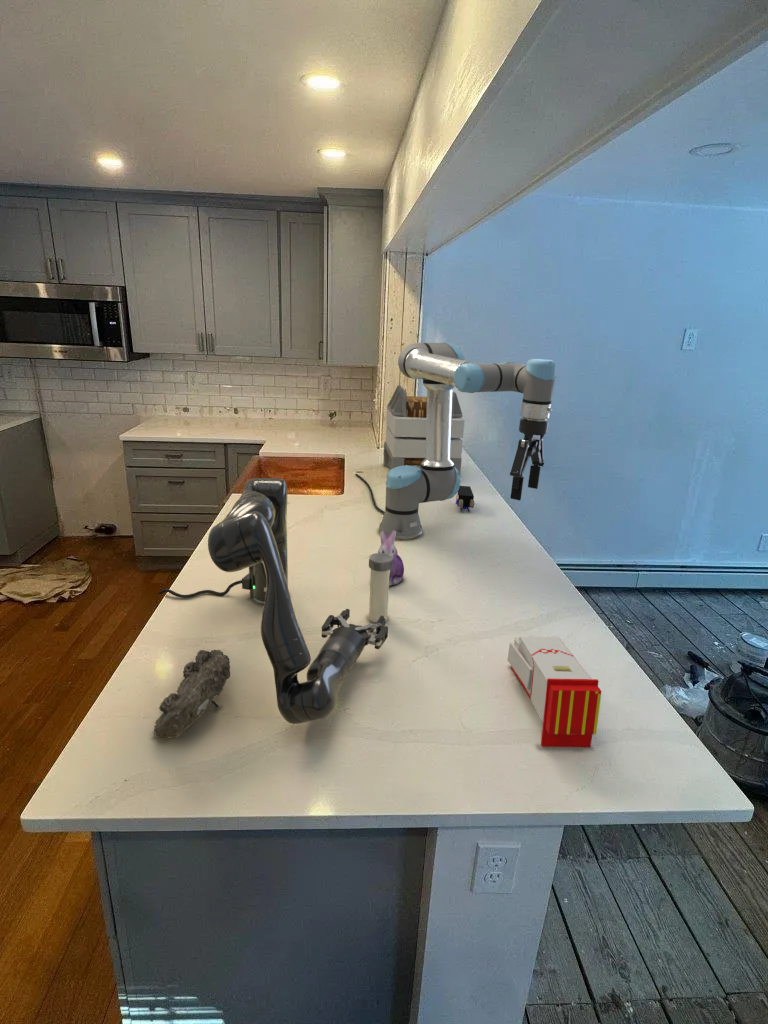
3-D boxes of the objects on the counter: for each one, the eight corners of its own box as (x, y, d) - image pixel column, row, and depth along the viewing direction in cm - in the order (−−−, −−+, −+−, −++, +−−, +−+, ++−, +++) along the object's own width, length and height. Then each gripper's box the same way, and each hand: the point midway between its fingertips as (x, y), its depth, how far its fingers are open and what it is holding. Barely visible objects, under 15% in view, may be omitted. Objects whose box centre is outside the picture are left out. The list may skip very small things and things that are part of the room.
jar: (389, 621, 144) (392, 562, 138) (371, 623, 142) (373, 564, 137) (384, 612, 148) (387, 554, 142) (366, 614, 147) (368, 556, 141)
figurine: (383, 590, 159) (385, 540, 154) (367, 575, 168) (368, 528, 163) (412, 584, 163) (415, 536, 158) (395, 569, 172) (397, 523, 167)
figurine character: (474, 517, 223) (468, 500, 237) (476, 499, 220) (470, 484, 233) (457, 516, 223) (452, 500, 236) (459, 499, 220) (454, 483, 233)
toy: (555, 619, 129) (611, 687, 100) (550, 674, 132) (602, 754, 102) (502, 618, 128) (542, 685, 99) (498, 673, 131) (536, 754, 102)
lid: (394, 570, 139) (395, 561, 138) (372, 572, 137) (372, 563, 136) (388, 560, 144) (388, 552, 143) (366, 562, 142) (366, 554, 141)
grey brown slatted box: (382, 463, 289) (386, 382, 275) (445, 464, 293) (451, 384, 279) (390, 482, 257) (394, 392, 243) (460, 483, 261) (468, 394, 247)
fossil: (181, 651, 120) (231, 619, 115) (213, 681, 123) (262, 651, 118) (130, 732, 101) (187, 698, 96) (169, 765, 103) (226, 734, 99)
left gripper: (373, 644, 115) (395, 607, 130) (308, 630, 119) (337, 596, 134) (371, 675, 118) (393, 635, 133) (308, 661, 122) (336, 623, 136)
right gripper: (532, 427, 141) (521, 507, 148) (562, 414, 161) (551, 485, 168) (503, 422, 145) (494, 501, 152) (536, 411, 165) (527, 481, 172)
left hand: (365, 615), depth 133 cm, fingers open, 8 cm apart
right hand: (524, 493), depth 160 cm, fingers open, 13 cm apart
